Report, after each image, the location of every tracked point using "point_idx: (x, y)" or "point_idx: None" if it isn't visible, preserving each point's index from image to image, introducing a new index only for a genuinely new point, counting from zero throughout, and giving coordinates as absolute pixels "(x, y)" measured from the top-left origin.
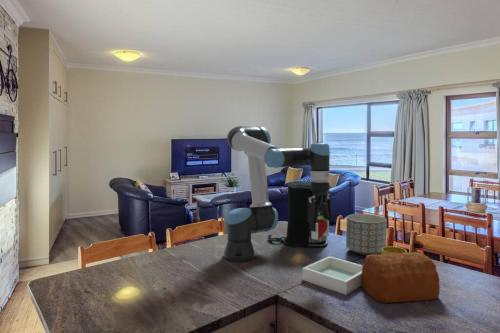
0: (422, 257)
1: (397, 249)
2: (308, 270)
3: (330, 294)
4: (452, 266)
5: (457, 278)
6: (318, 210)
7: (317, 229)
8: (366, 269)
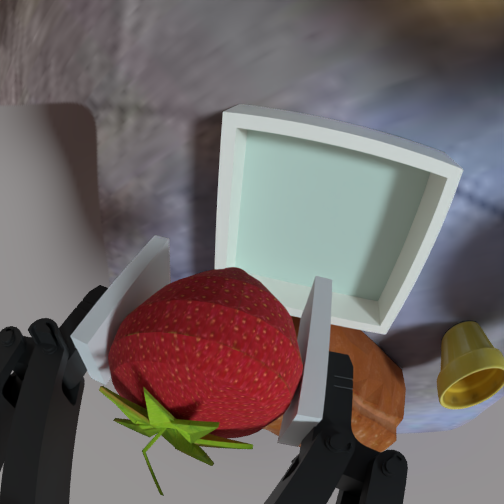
0: None
1: (497, 383)
2: (221, 144)
3: (199, 234)
4: (499, 396)
5: (442, 408)
6: (59, 496)
7: None
8: None
